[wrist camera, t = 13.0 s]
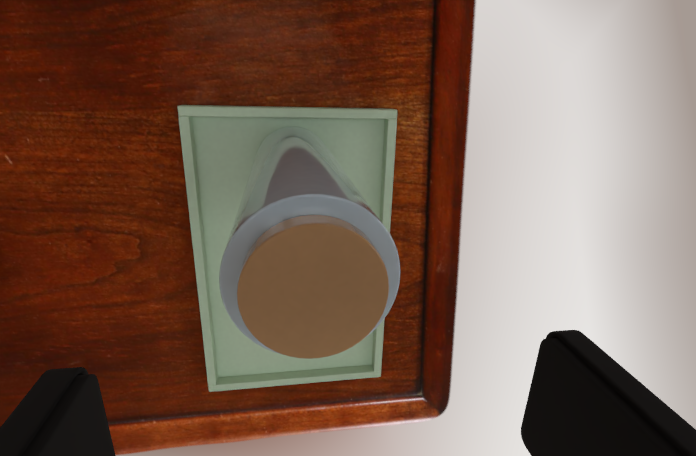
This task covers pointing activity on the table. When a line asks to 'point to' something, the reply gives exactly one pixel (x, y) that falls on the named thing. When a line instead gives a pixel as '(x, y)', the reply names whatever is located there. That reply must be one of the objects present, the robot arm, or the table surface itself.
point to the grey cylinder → (306, 253)
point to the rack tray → (221, 209)
